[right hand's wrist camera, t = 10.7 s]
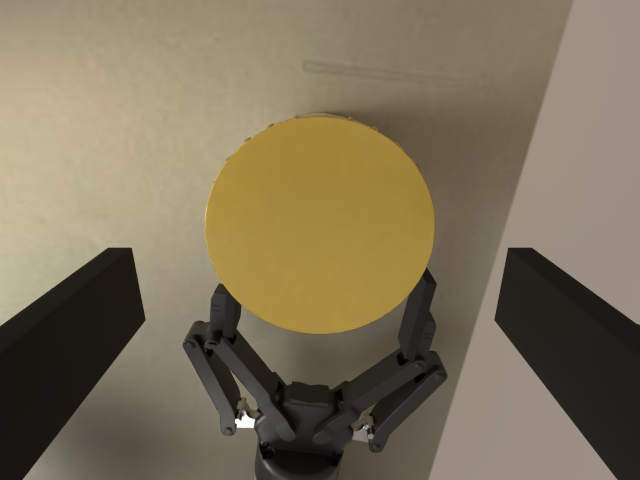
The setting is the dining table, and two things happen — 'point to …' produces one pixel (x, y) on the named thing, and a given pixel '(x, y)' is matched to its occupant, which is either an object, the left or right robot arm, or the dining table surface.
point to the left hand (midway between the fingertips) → (333, 260)
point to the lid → (320, 224)
